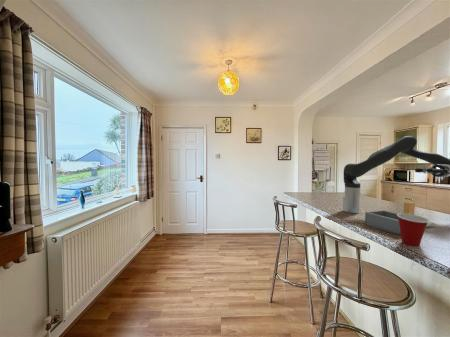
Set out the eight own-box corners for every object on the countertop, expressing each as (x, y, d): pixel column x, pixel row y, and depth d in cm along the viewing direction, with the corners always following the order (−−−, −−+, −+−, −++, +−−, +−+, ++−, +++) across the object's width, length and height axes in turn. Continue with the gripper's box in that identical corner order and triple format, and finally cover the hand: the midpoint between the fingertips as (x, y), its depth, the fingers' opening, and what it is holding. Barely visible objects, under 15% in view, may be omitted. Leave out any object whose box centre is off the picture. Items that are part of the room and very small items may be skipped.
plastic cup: (415, 250, 88) (417, 220, 87) (389, 240, 98) (390, 214, 98) (435, 247, 91) (436, 219, 90) (407, 238, 101) (408, 212, 101)
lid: (383, 220, 132) (384, 200, 131) (400, 218, 136) (401, 199, 136) (417, 229, 115) (419, 206, 114) (435, 227, 119) (436, 205, 119)
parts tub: (364, 224, 122) (365, 212, 122) (383, 222, 126) (383, 210, 126) (399, 235, 105) (399, 221, 105) (418, 232, 109) (419, 218, 109)
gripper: (428, 164, 139) (410, 164, 134) (458, 164, 125) (439, 164, 120) (428, 175, 139) (410, 176, 134) (457, 177, 126) (438, 178, 121)
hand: (424, 170), depth 127 cm, fingers open, 8 cm apart
